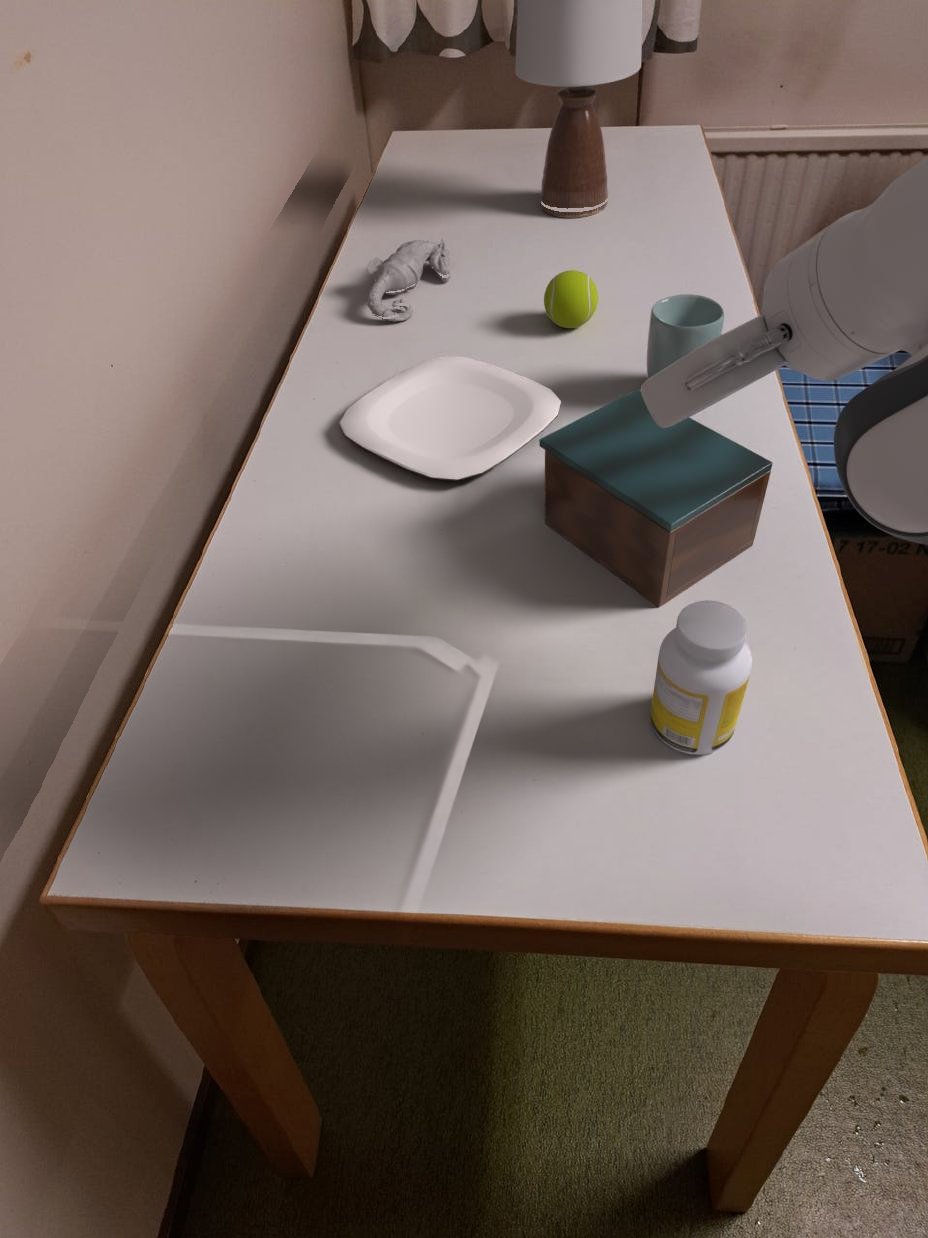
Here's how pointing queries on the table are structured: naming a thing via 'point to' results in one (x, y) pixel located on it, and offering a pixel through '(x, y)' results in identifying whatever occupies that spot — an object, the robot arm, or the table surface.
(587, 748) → the table surface
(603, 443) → the teal box lid
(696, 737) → the pill bottle
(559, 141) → the lamp
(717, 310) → the cup
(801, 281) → the robot arm
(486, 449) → the plate
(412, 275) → the seahorse
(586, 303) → the tennis ball
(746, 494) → the wooden box
